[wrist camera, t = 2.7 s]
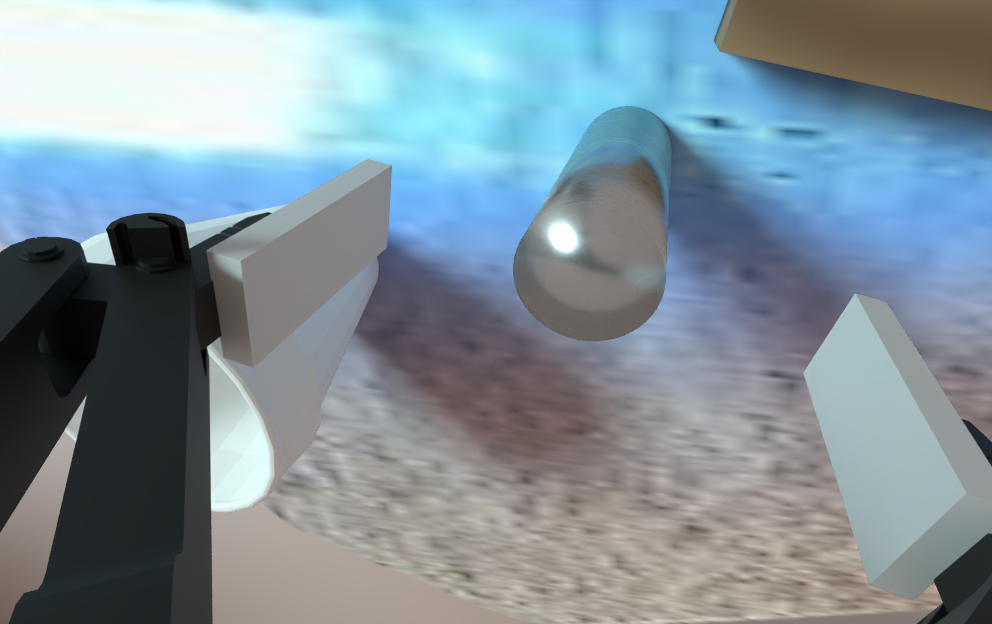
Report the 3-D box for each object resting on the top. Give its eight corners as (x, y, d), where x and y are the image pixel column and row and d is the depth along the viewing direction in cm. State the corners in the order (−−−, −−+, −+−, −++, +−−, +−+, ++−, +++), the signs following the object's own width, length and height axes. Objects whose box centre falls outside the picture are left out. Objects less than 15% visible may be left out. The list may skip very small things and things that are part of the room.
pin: (593, 96, 23) (529, 188, 13) (685, 118, 22) (689, 230, 13) (570, 184, 25) (501, 316, 16) (654, 206, 25) (637, 358, 15)
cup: (213, 258, 34) (-8, 393, 23) (273, 101, 27) (-2, 189, 16) (367, 372, 36) (227, 550, 25) (462, 251, 29) (326, 424, 18)
